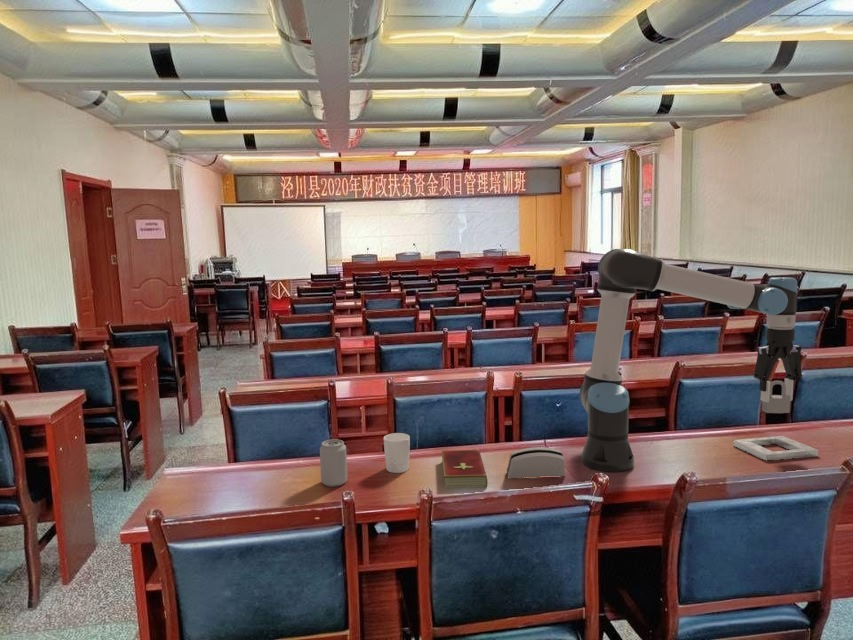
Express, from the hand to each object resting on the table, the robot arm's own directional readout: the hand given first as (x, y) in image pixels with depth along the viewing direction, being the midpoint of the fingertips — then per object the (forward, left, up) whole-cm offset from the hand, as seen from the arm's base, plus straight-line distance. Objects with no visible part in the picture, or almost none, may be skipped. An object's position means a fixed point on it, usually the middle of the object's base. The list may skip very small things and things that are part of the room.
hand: (776, 400), depth 179 cm
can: (-137, +7, -17) cm, 138 cm away
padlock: (0, 0, -4) cm, 4 cm away
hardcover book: (-99, +5, -17) cm, 101 cm away
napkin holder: (-80, -2, -17) cm, 81 cm away
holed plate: (0, 0, -16) cm, 16 cm away
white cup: (-118, +13, -17) cm, 120 cm away
